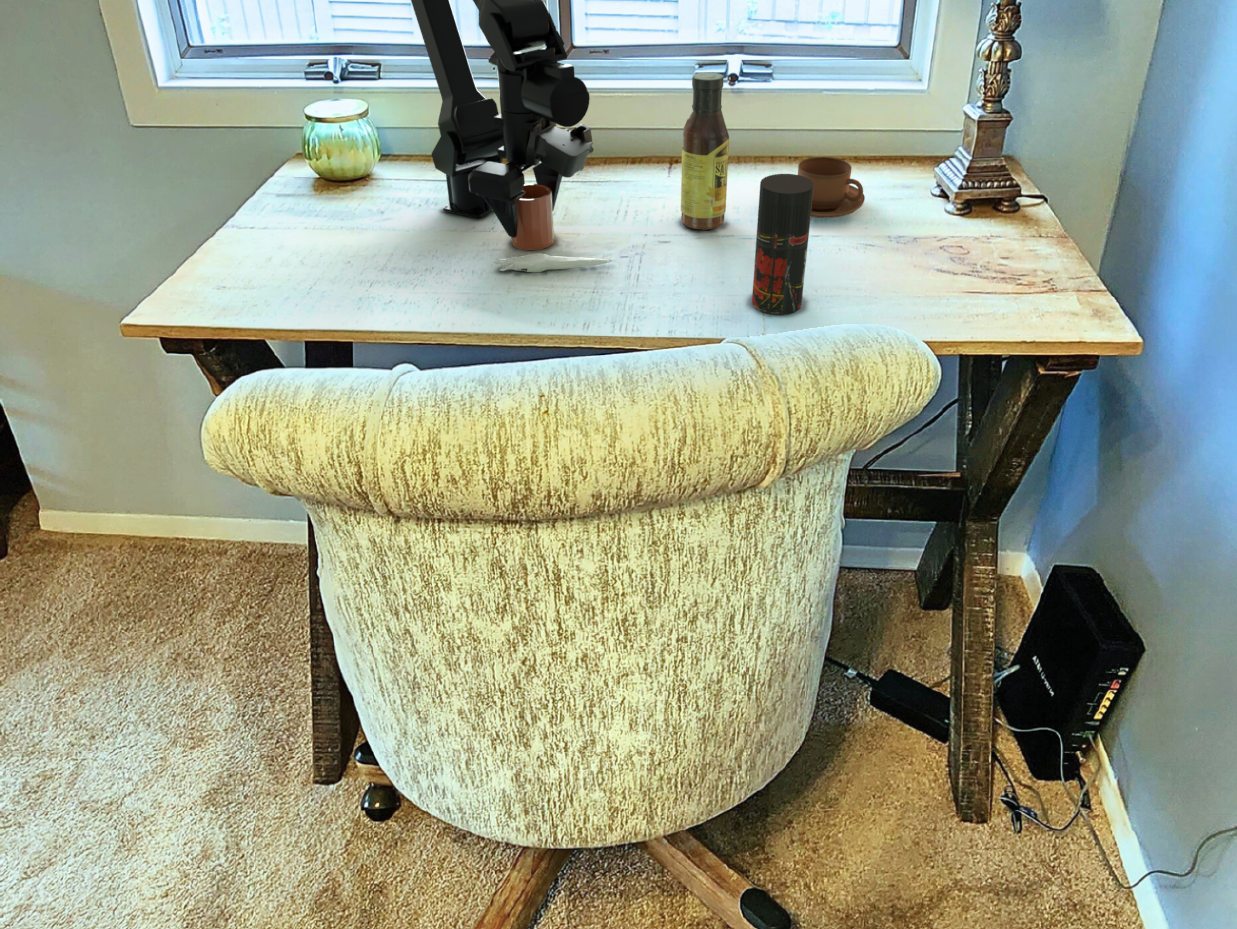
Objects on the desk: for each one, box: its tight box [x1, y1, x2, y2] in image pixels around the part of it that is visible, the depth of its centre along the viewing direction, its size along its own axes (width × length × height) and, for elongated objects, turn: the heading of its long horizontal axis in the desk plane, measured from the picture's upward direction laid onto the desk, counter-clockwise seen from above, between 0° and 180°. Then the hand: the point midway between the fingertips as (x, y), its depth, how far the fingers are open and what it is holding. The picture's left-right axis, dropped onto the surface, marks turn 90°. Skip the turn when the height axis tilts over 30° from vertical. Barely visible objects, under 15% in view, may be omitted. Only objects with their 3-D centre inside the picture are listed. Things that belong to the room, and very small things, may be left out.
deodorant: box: [751, 173, 814, 316], centre depth 119 cm, size 6×6×15 cm
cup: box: [510, 183, 555, 251], centre depth 137 cm, size 6×6×7 cm
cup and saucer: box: [797, 156, 866, 219], centre depth 145 cm, size 12×12×6 cm
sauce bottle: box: [680, 71, 730, 230], centre depth 137 cm, size 7×6×20 cm
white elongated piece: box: [494, 252, 612, 273], centre depth 131 cm, size 15×3×2 cm, turn 92°
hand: (531, 223), depth 137 cm, fingers open, 9 cm apart
